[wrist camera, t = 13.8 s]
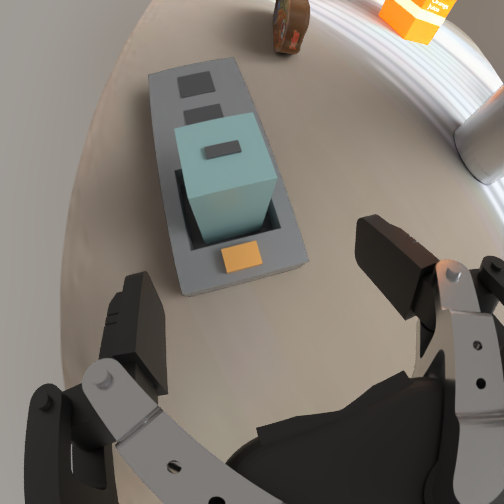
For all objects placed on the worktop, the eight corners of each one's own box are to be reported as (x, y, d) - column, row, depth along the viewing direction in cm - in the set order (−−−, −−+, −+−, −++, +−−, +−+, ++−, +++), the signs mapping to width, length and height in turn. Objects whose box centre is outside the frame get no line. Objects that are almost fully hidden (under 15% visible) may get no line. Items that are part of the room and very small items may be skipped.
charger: (245, 181, 23) (253, 110, 14) (260, 230, 22) (278, 176, 13) (193, 193, 23) (173, 126, 14) (205, 244, 22) (187, 197, 13)
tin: (272, 14, 31) (278, -28, 22) (292, 16, 31) (301, -24, 22) (274, 65, 27) (284, 9, 19) (300, 68, 27) (315, 14, 19)
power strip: (153, 93, 25) (146, 70, 22) (233, 76, 26) (234, 52, 23) (189, 296, 21) (180, 293, 18) (299, 267, 22) (311, 259, 19)
